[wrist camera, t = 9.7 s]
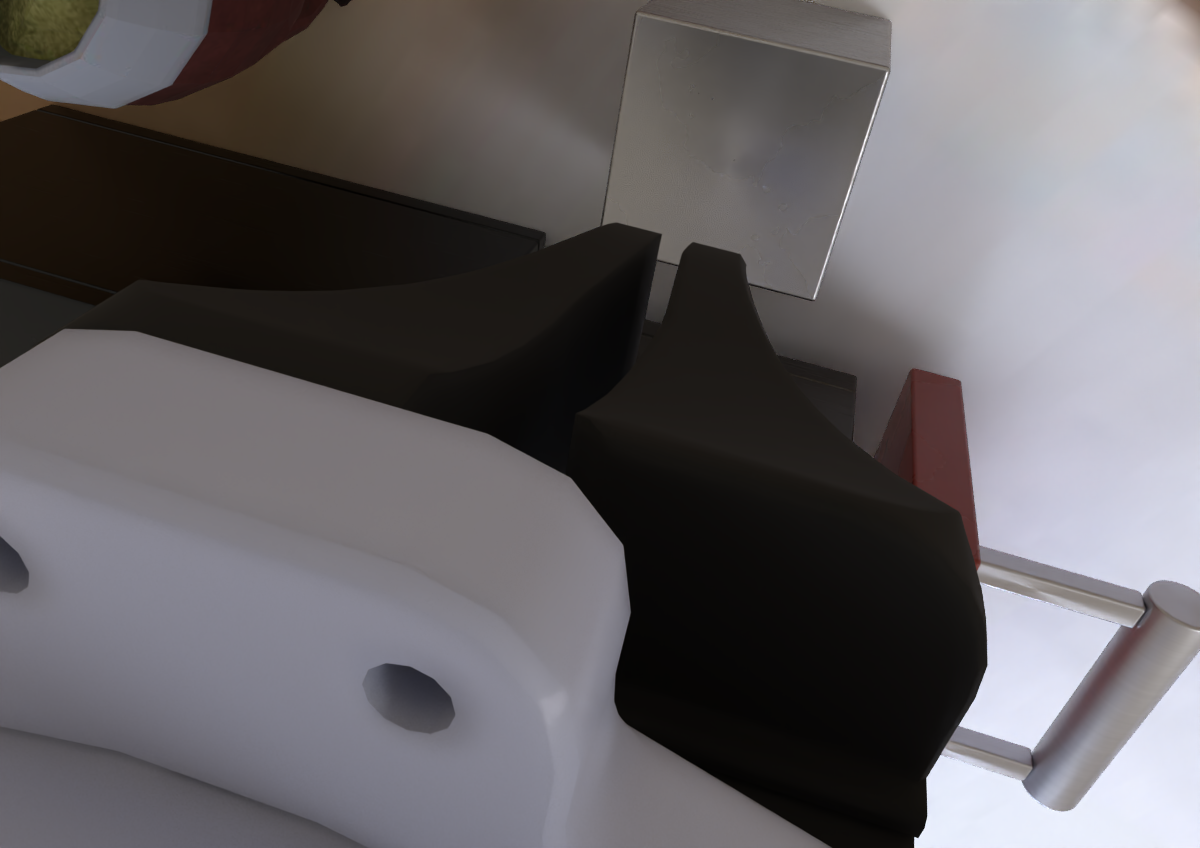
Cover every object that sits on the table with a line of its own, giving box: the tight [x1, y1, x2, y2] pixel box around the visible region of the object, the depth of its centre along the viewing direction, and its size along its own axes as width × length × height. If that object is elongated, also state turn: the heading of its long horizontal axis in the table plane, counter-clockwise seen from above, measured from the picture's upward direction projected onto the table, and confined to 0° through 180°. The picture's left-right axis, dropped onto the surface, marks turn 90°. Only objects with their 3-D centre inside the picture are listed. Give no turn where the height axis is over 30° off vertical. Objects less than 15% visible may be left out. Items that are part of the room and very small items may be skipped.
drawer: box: [636, 319, 1200, 811], centre depth 22 cm, size 19×10×7 cm, turn 81°
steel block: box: [600, 0, 892, 301], centre depth 18 cm, size 4×4×4 cm
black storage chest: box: [0, 105, 546, 368], centre depth 24 cm, size 14×11×8 cm
